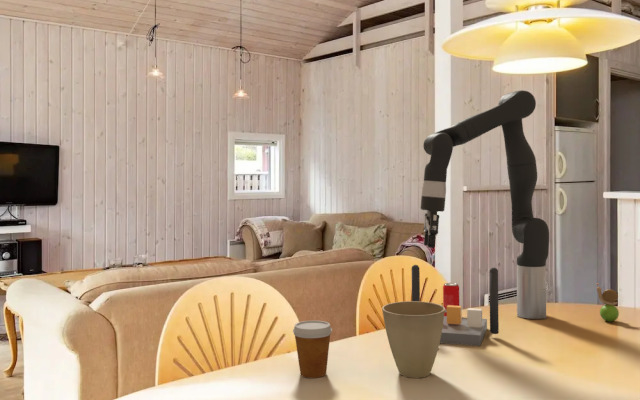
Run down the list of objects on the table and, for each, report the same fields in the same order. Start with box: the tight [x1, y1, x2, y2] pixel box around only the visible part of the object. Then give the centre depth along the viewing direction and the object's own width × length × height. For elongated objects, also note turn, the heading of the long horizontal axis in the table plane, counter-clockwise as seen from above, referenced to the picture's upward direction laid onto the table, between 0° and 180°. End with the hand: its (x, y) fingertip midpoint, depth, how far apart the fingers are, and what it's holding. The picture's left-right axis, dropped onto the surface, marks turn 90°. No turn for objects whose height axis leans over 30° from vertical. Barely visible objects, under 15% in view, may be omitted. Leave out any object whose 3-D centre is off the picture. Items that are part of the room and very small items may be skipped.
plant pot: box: [381, 300, 445, 379], centre depth 139 cm, size 15×15×16 cm
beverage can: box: [442, 282, 460, 316], centre depth 191 cm, size 5×5×12 cm
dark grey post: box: [488, 267, 500, 335], centre depth 169 cm, size 2×2×19 cm
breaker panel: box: [439, 307, 488, 347], centre depth 173 cm, size 17×20×8 cm
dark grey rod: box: [411, 264, 421, 302], centre depth 177 cm, size 2×2×19 cm
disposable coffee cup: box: [292, 320, 333, 379], centre depth 140 cm, size 10×10×12 cm
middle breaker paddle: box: [447, 305, 463, 324], centre depth 173 cm, size 4×2×5 cm, turn 69°
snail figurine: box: [596, 282, 620, 322], centre depth 186 cm, size 5×6×12 cm
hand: (429, 246), depth 185 cm, fingers open, 8 cm apart
